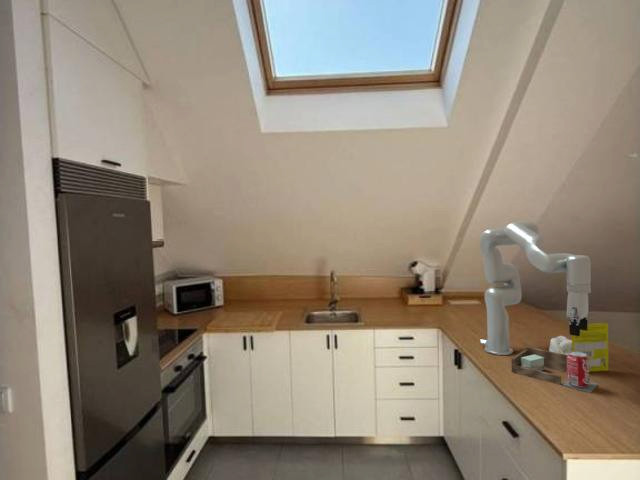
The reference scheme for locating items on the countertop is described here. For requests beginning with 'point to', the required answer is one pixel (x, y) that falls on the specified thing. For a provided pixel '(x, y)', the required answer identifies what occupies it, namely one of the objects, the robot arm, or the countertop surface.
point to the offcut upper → (532, 361)
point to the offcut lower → (535, 367)
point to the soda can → (578, 369)
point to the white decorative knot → (560, 345)
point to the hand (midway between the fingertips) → (578, 332)
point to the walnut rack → (550, 361)
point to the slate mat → (587, 388)
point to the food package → (593, 345)
